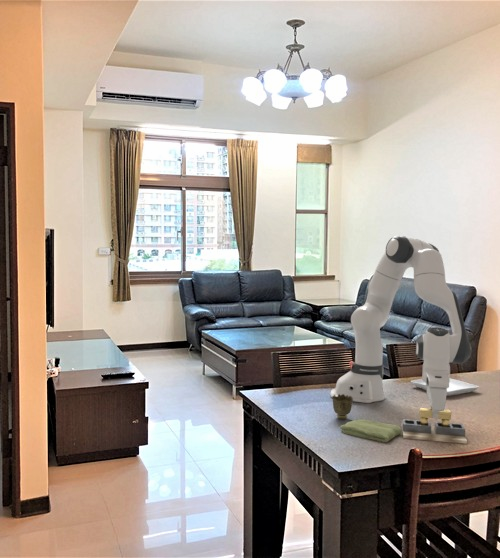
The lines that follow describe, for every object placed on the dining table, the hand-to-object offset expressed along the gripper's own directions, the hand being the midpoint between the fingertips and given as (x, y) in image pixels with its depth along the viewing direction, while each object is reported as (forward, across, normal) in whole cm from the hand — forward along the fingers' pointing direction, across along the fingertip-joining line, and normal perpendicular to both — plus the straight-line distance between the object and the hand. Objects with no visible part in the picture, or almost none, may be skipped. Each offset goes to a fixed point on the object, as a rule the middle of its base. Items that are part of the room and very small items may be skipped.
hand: (434, 416), depth 192 cm
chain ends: (+6, 0, 0) cm, 6 cm away
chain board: (+6, 0, 0) cm, 6 cm away
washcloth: (+7, +4, -21) cm, 23 cm away
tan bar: (+4, 0, 0) cm, 4 cm away
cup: (+6, -9, -31) cm, 33 cm away
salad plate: (+7, -61, +11) cm, 62 cm away
